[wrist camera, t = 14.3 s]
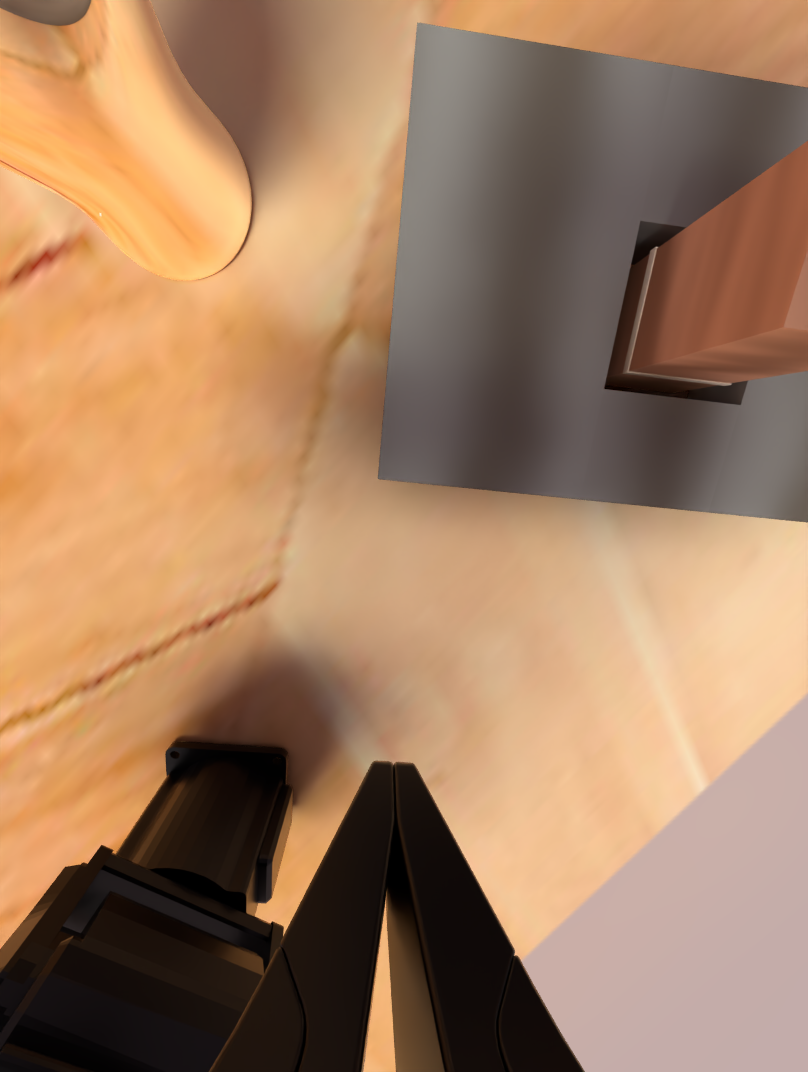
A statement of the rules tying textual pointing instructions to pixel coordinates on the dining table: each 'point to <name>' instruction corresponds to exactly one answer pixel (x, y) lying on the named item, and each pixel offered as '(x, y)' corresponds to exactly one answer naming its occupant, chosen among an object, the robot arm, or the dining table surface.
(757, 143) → the board
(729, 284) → the peg
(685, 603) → the dining table surface
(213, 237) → the beer glass
